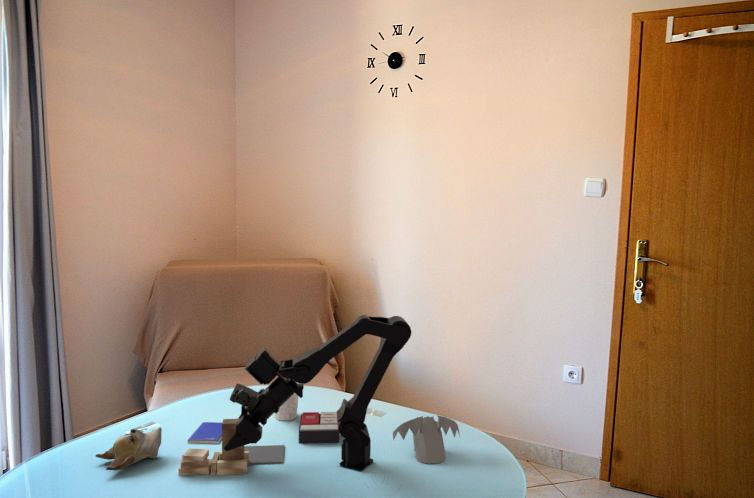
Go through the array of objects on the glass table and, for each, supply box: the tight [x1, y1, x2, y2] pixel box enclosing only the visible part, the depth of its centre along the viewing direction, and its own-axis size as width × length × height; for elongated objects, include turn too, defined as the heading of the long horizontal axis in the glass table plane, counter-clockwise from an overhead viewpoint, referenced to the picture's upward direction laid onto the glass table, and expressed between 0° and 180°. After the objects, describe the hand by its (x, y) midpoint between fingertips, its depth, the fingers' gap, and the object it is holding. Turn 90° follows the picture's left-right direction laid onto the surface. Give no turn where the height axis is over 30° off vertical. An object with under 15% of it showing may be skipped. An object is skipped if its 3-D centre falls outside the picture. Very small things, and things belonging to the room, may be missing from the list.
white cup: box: [273, 383, 300, 422], centre depth 179 cm, size 8×8×10 cm
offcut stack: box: [177, 448, 212, 476], centre depth 144 cm, size 7×6×4 cm
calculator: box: [298, 411, 341, 445], centre depth 168 cm, size 11×4×15 cm
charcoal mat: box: [244, 444, 285, 465], centre depth 153 cm, size 12×10×1 cm
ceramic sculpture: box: [95, 427, 163, 471], centre depth 147 cm, size 11×9×15 cm
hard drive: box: [187, 421, 222, 445], centre depth 166 cm, size 2×8×12 cm
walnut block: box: [221, 418, 245, 460], centre depth 145 cm, size 5×3×12 cm, turn 97°
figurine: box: [392, 414, 461, 464], centre depth 155 cm, size 18×13×11 cm
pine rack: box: [210, 451, 250, 476], centre depth 145 cm, size 8×6×3 cm
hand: (227, 441), depth 144 cm, fingers open, 9 cm apart
